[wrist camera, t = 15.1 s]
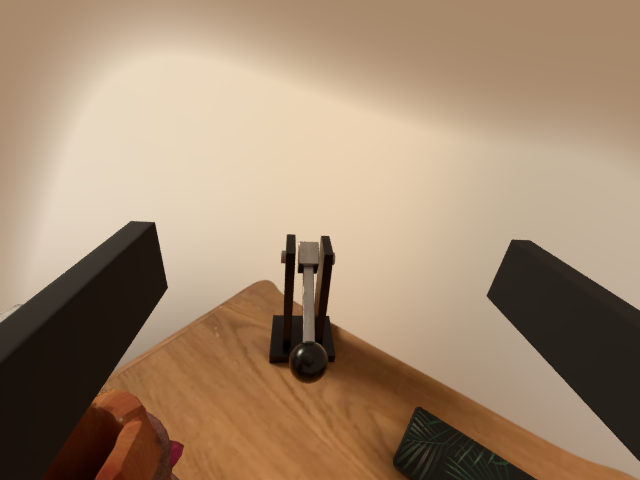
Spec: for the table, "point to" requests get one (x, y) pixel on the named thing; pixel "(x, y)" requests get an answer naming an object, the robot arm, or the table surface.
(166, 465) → the mug
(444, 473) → the smartphone
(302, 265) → the lever
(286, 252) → the switch
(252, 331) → the table surface
